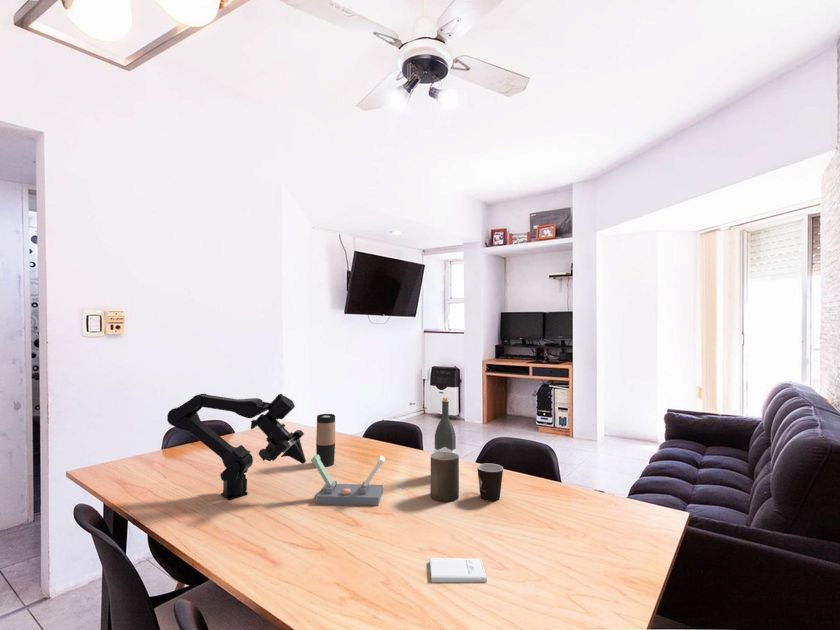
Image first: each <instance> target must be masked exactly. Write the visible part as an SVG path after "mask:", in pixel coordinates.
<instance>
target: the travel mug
mask: <svg viewBox="0 0 840 630" xmlns="http://www.w3.org/2000/svg"><path fill="white" fill-rule="evenodd" d="M315 437H316V438H315V439H316V443H315V444H316V445H315V447H316V448H315V450H316V451H315V452H316V455H317V454H319V456H320V460H321V462H322V463H323V465H324V467H325V468H326V467H332V466H333V465H334V464H335V456H336V455H335V453H336V451H335V450H336V415H335V414H334V413H320V414H317V415H316V436H315ZM316 455H315V456H316Z"/></svg>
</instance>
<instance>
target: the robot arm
mask: <svg viewBox="0 0 840 630" xmlns="http://www.w3.org/2000/svg"><path fill="white" fill-rule="evenodd" d="M203 408H206V409H213V410H219V411H226V412H232V413H235V414H236V415H238V416H239V417H243V418H245V419H252V420H251V421H250V430H253V429H256V428H257V427H258V428H259V429H260V430H261V431H262V433H263V434H264V435H265V436H266V438H265V440H266V442H267V443H268V444H267V445H266V446H265V448H261V449H260V450H259V452H258V456H259V457H260V458H261V460H262V461H263V462H264V461H268V462H271V461H272V462H274V461H275V460H277V459H278V457H279V456H280V455H281V454H282V455H281V456H280V457H281V458H283V457H289V458H292V459H293V460H295V461H297V462H299V463H300V464H303V465H304V464H305V463H306V462H307V459H306V456H305V454H304V450H303V446H302V442H301V438H302V437H303V436H304V435H305V433H304V432H303V431H302V429H296V431H294V432H289V430H287V429H286V427H285V426H286V424H285V423H280V421H278V420H283V419H285V417H286V416H287V415H289V413H290V412H291V411H292V410H294V409H295V403H294V401H292V399H291V398H288V397H287V396H285V395H283V394H282V393H279V394H278V395H277V396H276V397H275V398H274V399H273V400H272V401H271V402H268V401H267V402H266V401H264V400H262V399H261V398H258V397H257V398H256V397H255V398H240V399H239V398H232V397H225V396H224V397H223V396H219V395H211V394H206V393H199V394H196V395H194V396H193V397H192V398H191V399H189V400H188V401H186V402H184V403H183V404H181V405H179V406H177V407H174V408H172V409H170V410H169V411H168V413H167V415H166V418H167V422H168V424H169V425H171V426H173V427H174V428H176V429H178V430H182V431H186V432H189V433H190V434H191V435H192V436H194V437H195V438H196V439H197V440H198V441H200V442H201V443H202V444H203V445H205V446H206V447H207V448H209V449H210V450H211V451H212V452H213V453H214V454H216V455H217V456H218V457H220V458H221V460H222V463H223V466H224V467H225V469H224V470H223V471H222V472H221V473H220V474H219V477H220V479H221V481H222V482H223V483H222V486H223V487H222V488H223V490H222V492H221V493H220V495H221V496H222V497H223V498H225V499H227V500H233V499H236V498H239V497H243V496H247V495H248V494H249V492H248V478H247V475H246V473H247V472H248V470H249V469H250V467H252V465H253V463H254V456H253V455H252V454H251V451H250V450H248V449H247V448H245V447H244V445H242V444H241V445H239V446H237V447H236V446H233V445H231V444H230V443H229V442H228V441H227V440H225V439H223V438H222V436H220V435H219V434H217V433H216V432H215V431H214V430H213V429H212V428H210V427H209V426H207V425H206V424H205V423H204V422H203V421H202V420H201V418H200V416H199V413H198V412H199V411H201V410H202V409H203ZM265 412H266V413H265ZM263 413H265V414H263ZM257 416H258V417H257ZM255 417H257V418H256V419H254V418H255Z"/></svg>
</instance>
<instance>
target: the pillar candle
mask: <svg viewBox="0 0 840 630" xmlns="http://www.w3.org/2000/svg"><path fill="white" fill-rule="evenodd" d="M459 460H460V457H459V454H458V453H457V452H456V453H452V452H437V453H435V452H434V453H431V454H430V482H429V483H430V484H429V485H430V489H429V490H430V493H429V495H430V497H431V499H432V500H435V501H437V502H440V503H442V502H443V503H449V502H455V501H456V500H458V499H459V498H460V466H459V465H460V461H459Z"/></svg>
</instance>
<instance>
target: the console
mask: <svg viewBox="0 0 840 630" xmlns="http://www.w3.org/2000/svg"><path fill="white" fill-rule="evenodd" d="M334 481H335V482H336V486H335V487H334V489H333V488H327V485H326V483H324V485H323V486H322V488H321V489H320V491H319V492H318V493H317V495H316V496H315V498H316V499H315V501H316V503H315V504H316V505H339V506H340V505H343V506H347V505H348V506H377V507H378V506H379V505H380V502H381V498H382V497H383V496H382V495H383V492H384V485H383V484H370V483H369V484H368V487H367V489H366V488H361V486H362V484H363V483H361V484H359V483H355V484H354V483H338V481H337V480H334Z"/></svg>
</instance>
